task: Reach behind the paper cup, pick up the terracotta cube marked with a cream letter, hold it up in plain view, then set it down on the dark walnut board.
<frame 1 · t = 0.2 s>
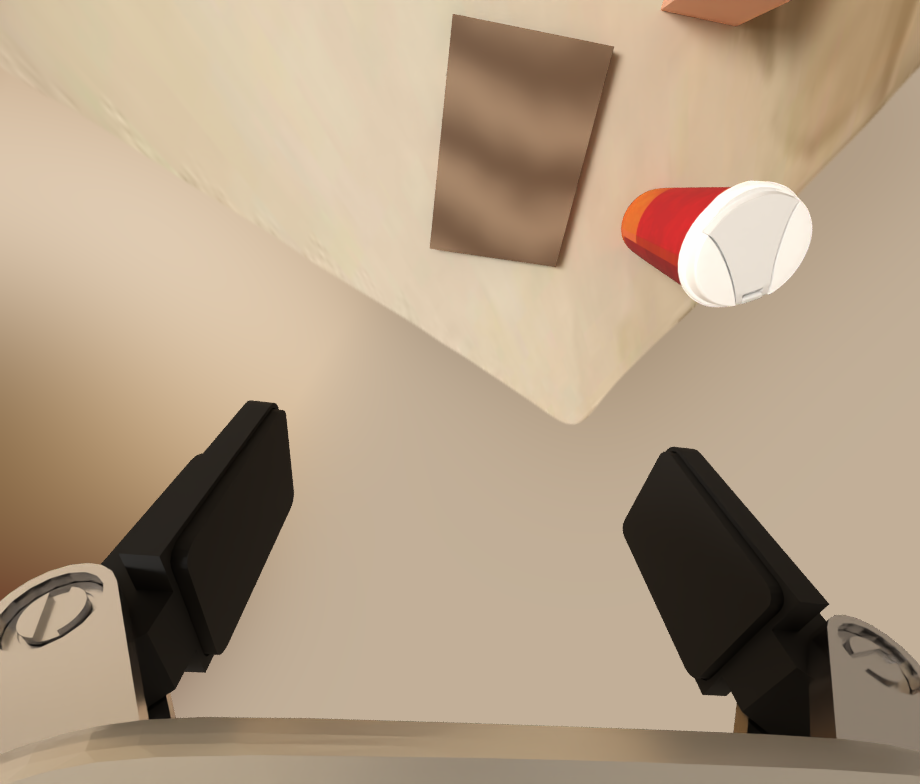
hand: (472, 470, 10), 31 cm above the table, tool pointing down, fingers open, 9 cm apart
paper cup: (650, 221, 36), on the table
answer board: (510, 158, 33), on the table
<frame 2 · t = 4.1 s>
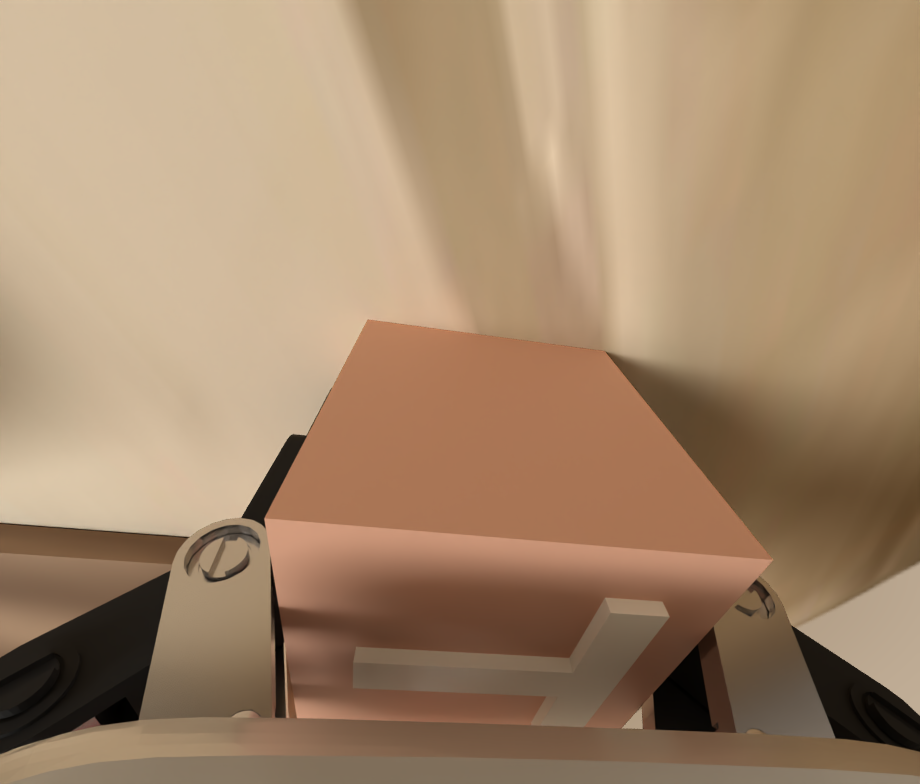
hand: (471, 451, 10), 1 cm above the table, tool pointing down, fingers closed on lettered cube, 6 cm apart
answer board: (150, 651, 17), on the table
lettered cube: (470, 431, 11), on the table, touching gripper
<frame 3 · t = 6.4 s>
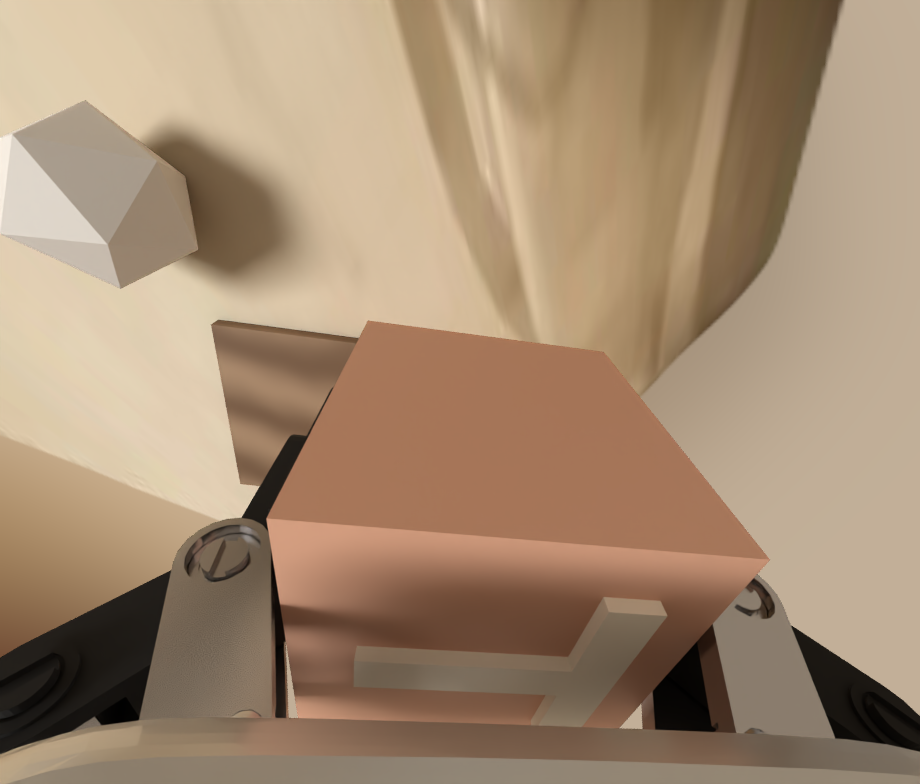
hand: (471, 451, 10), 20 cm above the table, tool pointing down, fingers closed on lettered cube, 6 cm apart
die: (152, 196, 25), on the table
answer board: (304, 415, 34), on the table
lettered cube: (469, 432, 11), point 19 cm above the table, touching gripper
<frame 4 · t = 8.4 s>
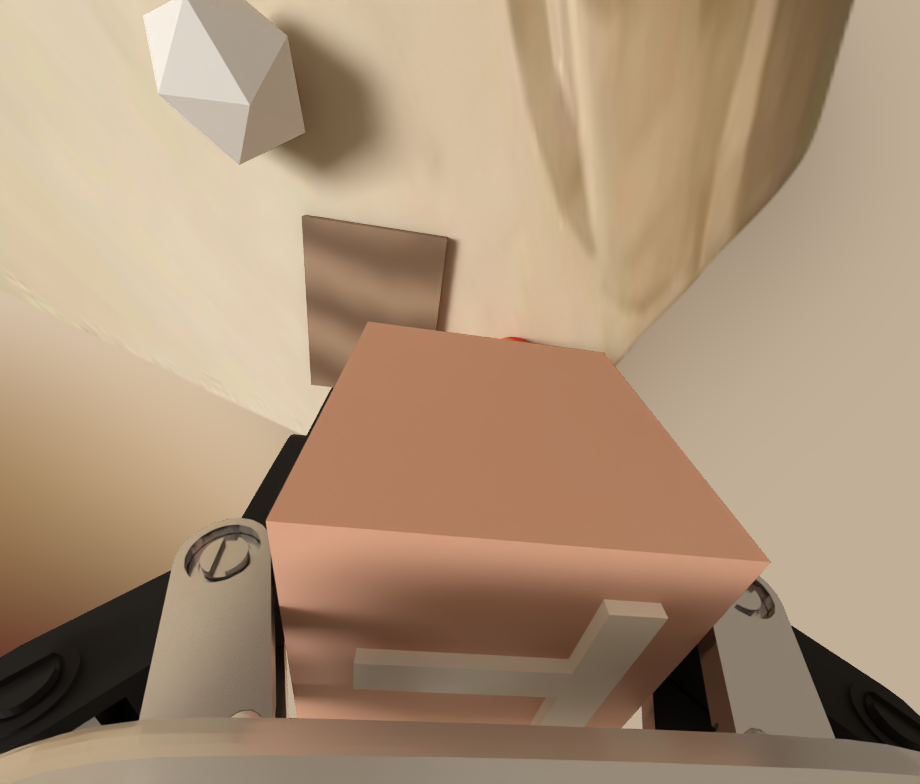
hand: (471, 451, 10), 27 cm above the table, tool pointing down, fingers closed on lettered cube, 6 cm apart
die: (258, 89, 28), on the table
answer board: (374, 315, 37), on the table
lettered cube: (469, 432, 11), point 27 cm above the table, touching gripper
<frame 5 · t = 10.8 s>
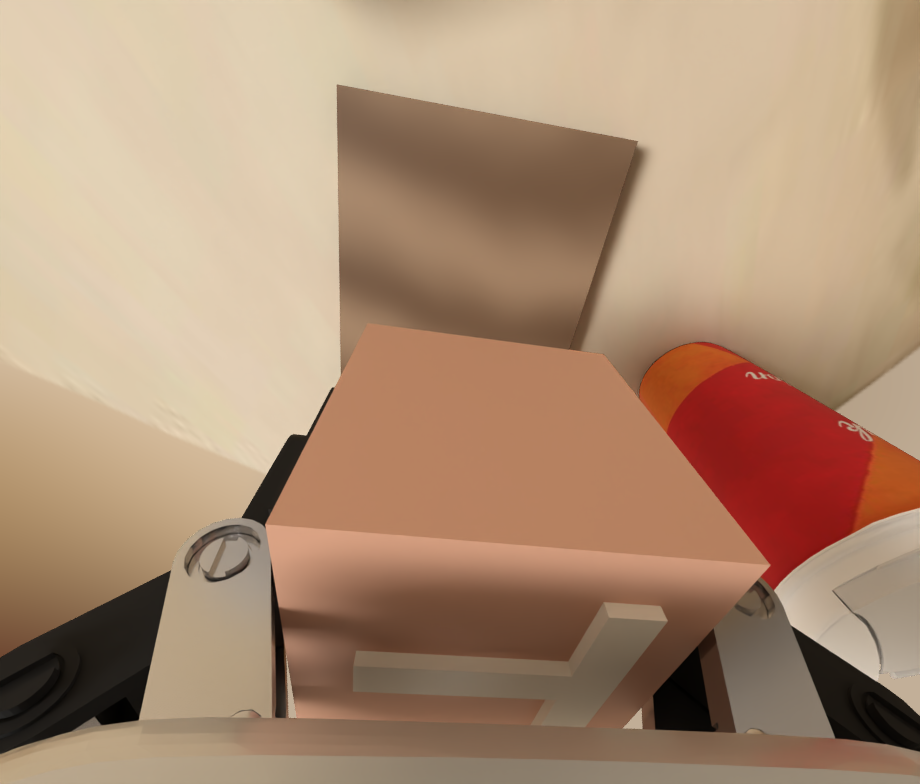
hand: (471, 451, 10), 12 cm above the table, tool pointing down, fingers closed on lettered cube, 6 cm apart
paper cup: (683, 381, 23), on the table
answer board: (461, 302, 20), on the table
lettered cube: (469, 434, 11), point 11 cm above the table, touching gripper
when the fingers open (3 cm above the table, at t = 12.7 s): lettered cube drops 1 cm, resting on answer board.
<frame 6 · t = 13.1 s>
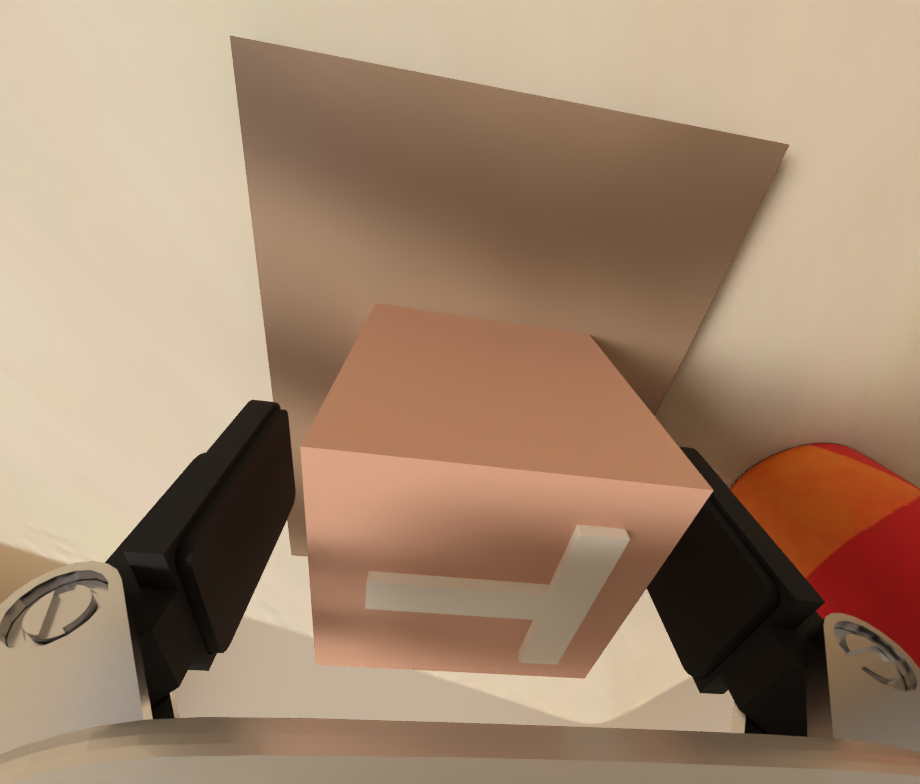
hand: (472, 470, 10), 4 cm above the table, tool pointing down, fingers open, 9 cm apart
paper cup: (787, 490, 16), on the table
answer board: (467, 392, 13), on the table
lettered cube: (467, 409, 12), point 1 cm above the table, touching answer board
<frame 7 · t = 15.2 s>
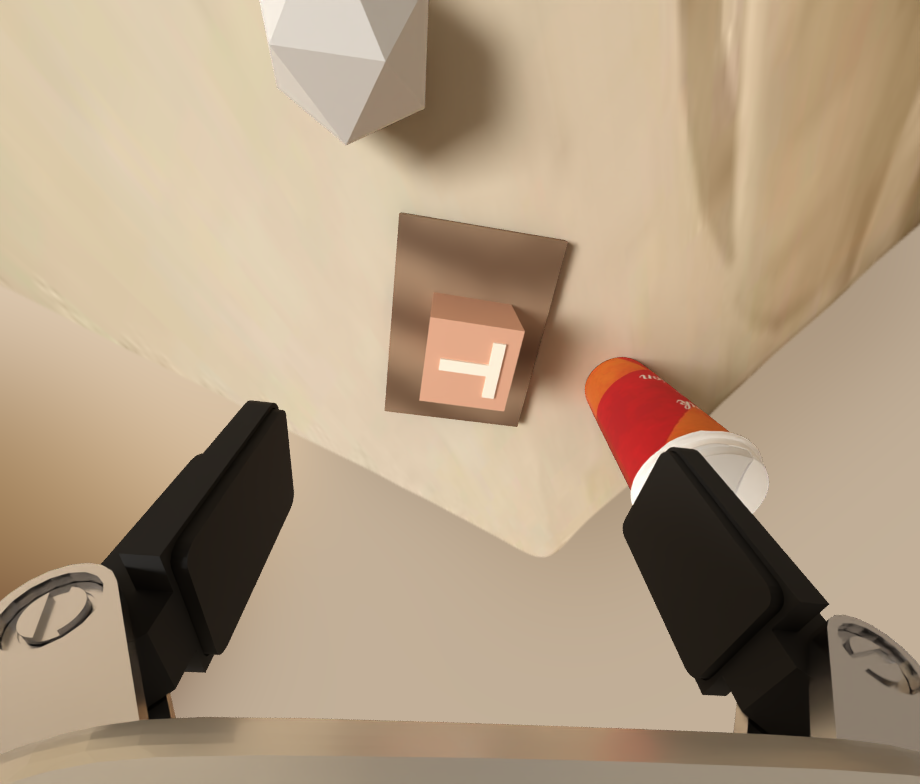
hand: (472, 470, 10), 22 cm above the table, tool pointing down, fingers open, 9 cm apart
die: (362, 59, 23), on the table
paper cup: (614, 383, 34), on the table
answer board: (466, 331, 31), on the table
lettered cube: (466, 335, 31), point 1 cm above the table, touching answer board
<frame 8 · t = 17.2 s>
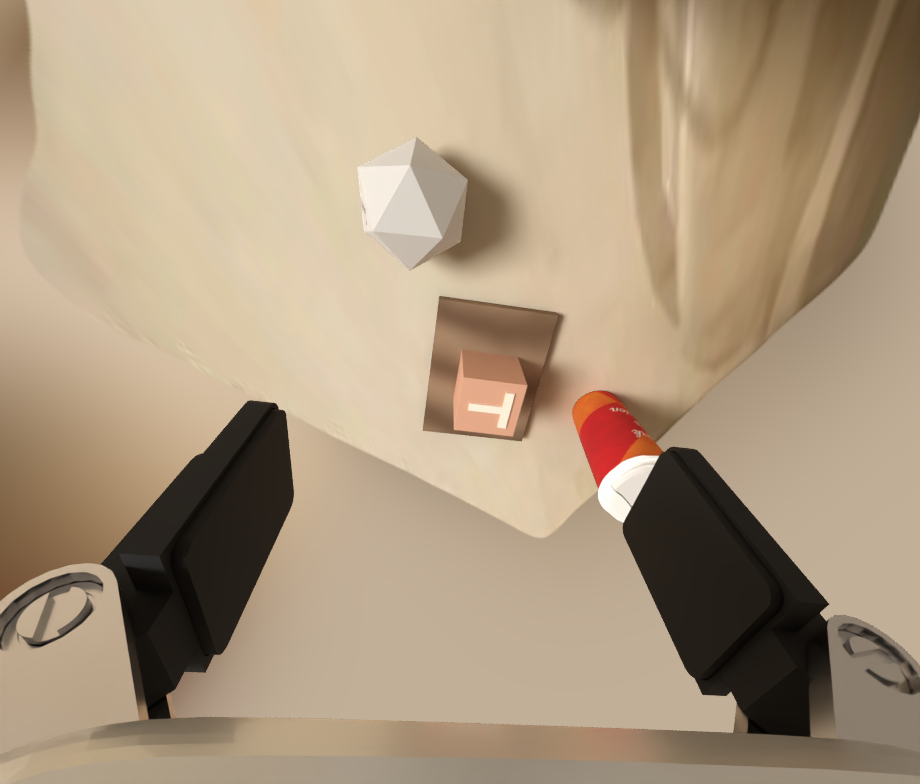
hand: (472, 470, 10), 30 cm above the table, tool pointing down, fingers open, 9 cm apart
die: (416, 202, 34), on the table
paper cup: (594, 408, 46), on the table
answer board: (484, 373, 43), on the table
lettered cube: (484, 378, 42), point 1 cm above the table, touching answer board
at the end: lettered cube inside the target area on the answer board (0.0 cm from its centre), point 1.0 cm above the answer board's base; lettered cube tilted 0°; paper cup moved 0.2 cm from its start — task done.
